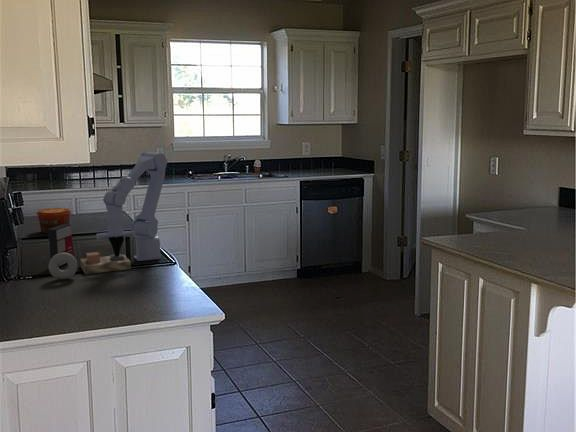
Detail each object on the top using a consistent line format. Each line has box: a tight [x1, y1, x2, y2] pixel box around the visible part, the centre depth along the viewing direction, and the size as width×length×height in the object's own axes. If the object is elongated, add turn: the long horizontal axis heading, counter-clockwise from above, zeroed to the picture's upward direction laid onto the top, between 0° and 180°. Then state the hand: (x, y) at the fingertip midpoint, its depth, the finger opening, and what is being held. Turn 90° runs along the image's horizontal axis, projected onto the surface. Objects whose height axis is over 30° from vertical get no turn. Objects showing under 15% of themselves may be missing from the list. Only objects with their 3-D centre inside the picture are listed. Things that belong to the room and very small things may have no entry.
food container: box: [36, 207, 72, 235], centre depth 301 cm, size 16×16×11 cm
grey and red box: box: [47, 224, 74, 268], centre depth 240 cm, size 11×4×15 cm, turn 168°
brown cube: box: [85, 251, 101, 264], centre depth 234 cm, size 4×4×4 cm
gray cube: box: [109, 253, 124, 261], centre depth 238 cm, size 4×4×4 cm
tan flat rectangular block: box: [79, 254, 132, 275], centre depth 236 cm, size 17×12×3 cm
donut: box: [47, 252, 79, 280], centre depth 220 cm, size 10×4×10 cm, turn 112°
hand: (116, 255), depth 238 cm, fingers closed, pressing on gray cube
